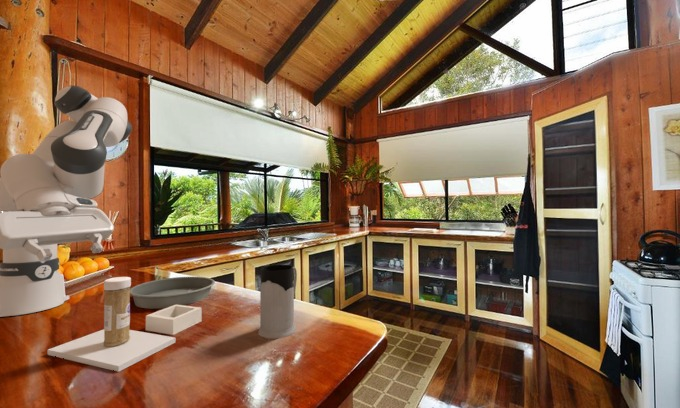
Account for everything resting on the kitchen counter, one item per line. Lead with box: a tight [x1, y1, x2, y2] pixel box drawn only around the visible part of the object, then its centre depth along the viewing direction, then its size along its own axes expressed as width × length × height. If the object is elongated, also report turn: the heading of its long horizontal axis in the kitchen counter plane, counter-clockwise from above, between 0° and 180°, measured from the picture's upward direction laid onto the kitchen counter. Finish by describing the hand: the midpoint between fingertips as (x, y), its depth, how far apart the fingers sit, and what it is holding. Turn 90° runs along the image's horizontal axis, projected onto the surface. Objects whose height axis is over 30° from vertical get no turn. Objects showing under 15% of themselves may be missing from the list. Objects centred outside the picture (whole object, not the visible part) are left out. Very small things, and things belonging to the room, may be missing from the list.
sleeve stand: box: [145, 304, 203, 336], centre depth 72 cm, size 9×9×4 cm
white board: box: [47, 328, 176, 373], centre depth 60 cm, size 20×12×1 cm, turn 72°
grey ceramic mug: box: [258, 264, 298, 340], centre depth 72 cm, size 9×14×15 cm, turn 162°
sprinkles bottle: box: [103, 276, 132, 347], centre depth 61 cm, size 5×5×14 cm
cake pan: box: [130, 276, 216, 310], centre depth 96 cm, size 25×25×4 cm
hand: (74, 254), depth 64 cm, fingers open, 8 cm apart
